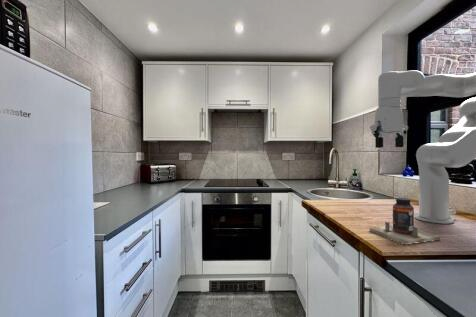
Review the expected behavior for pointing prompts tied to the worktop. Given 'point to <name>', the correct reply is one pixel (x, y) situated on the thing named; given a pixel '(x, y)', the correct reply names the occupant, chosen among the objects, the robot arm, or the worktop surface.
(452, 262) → the worktop surface
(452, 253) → the worktop surface
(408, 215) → the supplement bottle
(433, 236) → the pin board
